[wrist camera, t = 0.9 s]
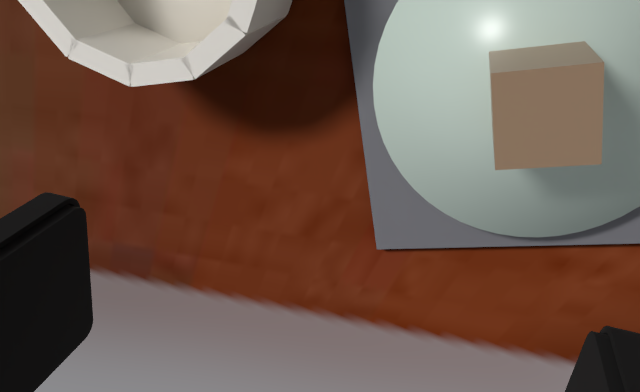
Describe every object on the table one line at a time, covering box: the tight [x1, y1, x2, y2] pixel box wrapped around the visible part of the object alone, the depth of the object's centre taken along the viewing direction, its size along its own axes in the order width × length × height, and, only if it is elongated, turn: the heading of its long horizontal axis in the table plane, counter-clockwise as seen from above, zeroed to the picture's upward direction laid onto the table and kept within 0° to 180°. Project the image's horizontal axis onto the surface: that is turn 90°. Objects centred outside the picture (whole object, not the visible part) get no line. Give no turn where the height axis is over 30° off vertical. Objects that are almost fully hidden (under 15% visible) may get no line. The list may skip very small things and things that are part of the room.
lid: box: [373, 0, 640, 237], centre depth 25 cm, size 15×15×6 cm
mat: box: [344, 0, 640, 249], centre depth 28 cm, size 17×17×1 cm
